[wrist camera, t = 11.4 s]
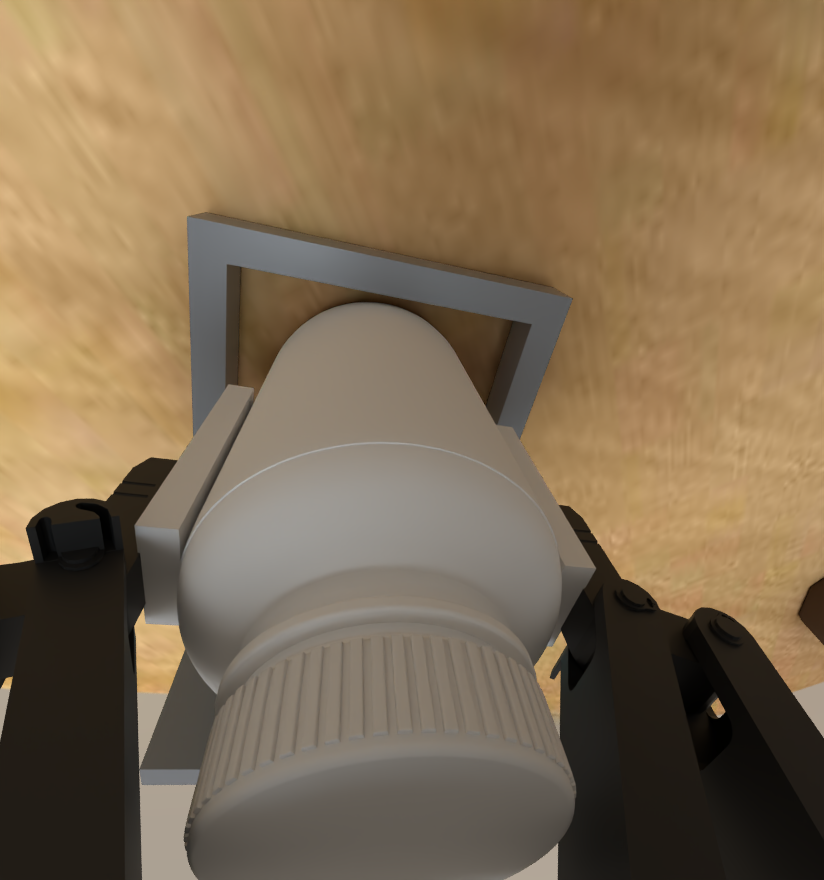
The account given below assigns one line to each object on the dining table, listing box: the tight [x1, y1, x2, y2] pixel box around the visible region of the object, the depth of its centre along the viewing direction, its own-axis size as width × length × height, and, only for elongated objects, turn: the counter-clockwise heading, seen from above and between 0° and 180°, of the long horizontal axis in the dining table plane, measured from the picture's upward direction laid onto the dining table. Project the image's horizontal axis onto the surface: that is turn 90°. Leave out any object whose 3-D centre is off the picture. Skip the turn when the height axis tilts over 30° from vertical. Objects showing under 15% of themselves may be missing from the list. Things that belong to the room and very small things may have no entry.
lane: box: [139, 212, 573, 785], centre depth 18 cm, size 13×20×9 cm
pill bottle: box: [177, 302, 576, 880], centre depth 12 cm, size 8×8×15 cm
